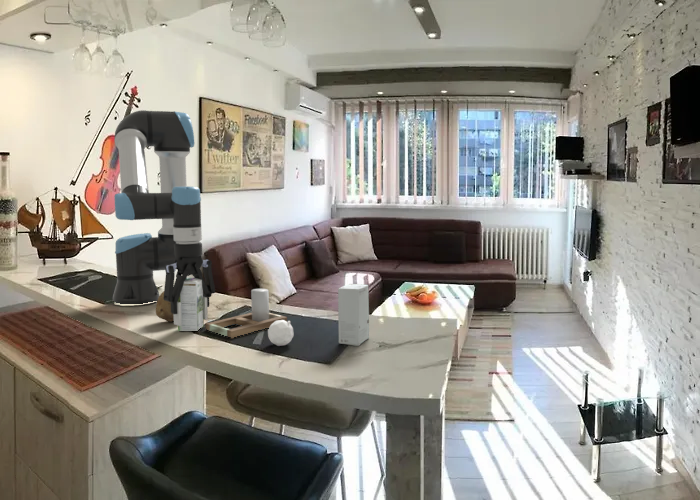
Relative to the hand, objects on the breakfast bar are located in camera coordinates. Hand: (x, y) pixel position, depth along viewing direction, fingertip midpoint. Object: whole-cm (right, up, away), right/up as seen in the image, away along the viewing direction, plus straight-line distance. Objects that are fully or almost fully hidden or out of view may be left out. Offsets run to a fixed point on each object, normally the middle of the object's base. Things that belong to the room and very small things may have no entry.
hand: (191, 321), depth 156 cm
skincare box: (+46, -4, -10) cm, 47 cm away
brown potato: (-8, -1, +8) cm, 11 cm away
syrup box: (0, -2, 0) cm, 2 cm away
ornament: (+27, -4, -14) cm, 31 cm away
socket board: (+15, -2, +3) cm, 16 cm away
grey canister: (+19, -1, +7) cm, 20 cm away
